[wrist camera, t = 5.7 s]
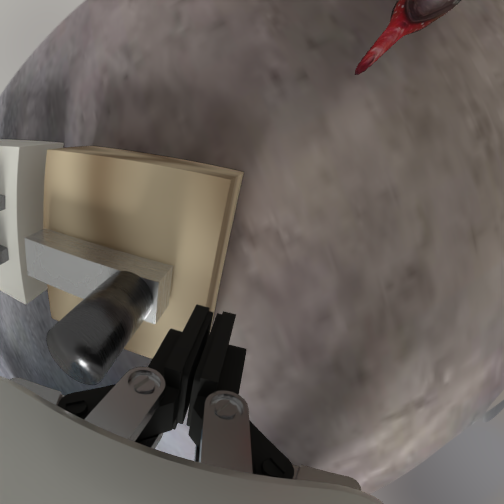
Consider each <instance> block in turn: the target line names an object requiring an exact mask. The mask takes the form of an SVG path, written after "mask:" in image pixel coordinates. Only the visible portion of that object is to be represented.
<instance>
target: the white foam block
mask: <svg viewBox="0 0 504 504" xmlns="http://www.w3.org/2000/svg"><path fill="white" fill-rule="evenodd" d="M63 146H64V143H59V142H47V141H32V140H13V139H0V194H1V195H5V210H2V211H0V245H2V246H5V247H7V248H8V255H9V260H8V261H6V262H5V263H3V264H1V265H0V291H2V292H4V293H6V294H7V295H9V296H11V297H13V298H14V299H16V300H18V301H20V302H22V303H23V304H25V305H27V304H28V303H29V302H31V301H32V300H33V299H35V298H36V297H37V296H39V295H40V294H41V293H43V292H44V291H45V290H47V289H48V288H47V284H46V283H44V282H42V281H40V280H37V279H35V278H33V277H31V276H29V275H28V272H27V263H26V253H25V237H27V236H30V235H32V234H34V233H36V232H38V231H40V230H43V202H44V179H45V165H46V155H47V150H48V149H57V148H63Z"/></svg>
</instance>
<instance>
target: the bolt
mask: <svg viewBox="0 0 504 504" xmlns="http://www.w3.org/2000/svg"><path fill="white" fill-rule="evenodd" d="M25 253H26V263H27V272H28V275H29V276H31V277H33V278H35V279H37V280H40V281H42V282H44V283H46V284H49V285H51V286H53V287H56V288H58V289H60V290H63V291H65V292H67V293H70V294H72V295H75V296H77V297H80V298H82V299H83V300H82V301H81V302H80V303H79V304H78V305H77V306H75V307H74V308H73V309H72V310H71V311H70V312H69V313H68V314H67V315H66V316H64V317H63V318H62V319H61V320H60V321H59V322H58V323H57V324H56V325H55V326H54V327H53V328H51V329H50V330H49V332H48V334H47V345H48V348H49V351H50V353H51V355H52V357H53V359H54V360H55V361H56V363H57V364H58V365H59V366H60V368H61V369H62V370H63V371H64V372H66V373H67V374H68V375H69V376H71V377H72V378H74V379H75V380H77V381H79V382H81V383H84V384H88V385H95V384H98V383H99V382H101V380H102V379H103V377H104V376H105V374H106V373H107V371H108V370H109V369H110V367H111V366H112V364H113V363H114V361H115V360H116V359H117V357H118V356H119V354H120V353H121V352H122V350H123V349H124V347H125V346H126V345H127V343H128V342H129V340H130V339H131V338H132V336H133V335H134V333H135V332H136V331H137V329H138V328H139V327H140V325H141V324H142V322H143V321H146V322H149V323H152V324H156V323H157V322H158V320H159V319H160V317H161V316H162V314H163V313H164V311H165V310H166V308H167V307H168V305H169V298H170V289H171V280H172V272H173V265H169V264H165V263H162V262H158V261H154V260H151V259H147V258H144V257H140V256H137V255H133V254H130V253H126V252H123V251H119V250H116V249H112V248H109V247H105V246H102V245H99V244H95V243H92V242H88V241H85V240H82V239H79V238H75V237H72V236H69V235H66V234H62V233H59V232H56V231H53V230H50V229H46V228H45V229H43V230H40V231H38V232H36V233H34V234H32V235H30V236H27V237H25Z"/></svg>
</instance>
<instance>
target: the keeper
mask: <svg viewBox="0 0 504 504" xmlns="http://www.w3.org/2000/svg"><path fill="white" fill-rule="evenodd" d="M2 210H5V195H1V194H0V211H2ZM8 260H9V255H8V248H7V247H5V246H2V245H0V265H1V264H3V263H5V262H6V261H8Z"/></svg>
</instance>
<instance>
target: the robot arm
mask: <svg viewBox="0 0 504 504" xmlns="http://www.w3.org/2000/svg"><path fill="white" fill-rule="evenodd" d="M209 309H210V308H209V307H205V306H202V305H198V304H197V305H196V306H195V308H194V310H193V312H192V314H191V316H190V318H189V320H188V322H187V324H186V326H185V328H184V330H183V332H181V331H178V330H175V329H172V328H171V329H170V330H169V331H168V333H167V335H166V336H165V338H164V340H163V342H162V343H161V345H160V347H159V349H158V350H157V352H156V354H155V356H154V357H153V359H152V361H151V363H150V364H149V366H148V367H136V368H133V369H131V370H129V371H128V372H127V373H126V374H125V375H124V376H123V377H122V378H121V379H120V380H119V381H118V383H117V384H115V385H110V386H106V387H101V388H96V389H91V390H86V391H81V392H75V393H71V394H67V395H62V393H61V391H57V390H54V389H51V388H48V387H45V386H42V385H39V384H36V383H33V382H30V381H28V380H25V379H22V378H12V379H10V380H9V379H7V378H4V377H1V376H0V504H383V503H382V502H381V501H380V500H379V499H377V498H376V497H374V496H372V495H370V494H368V493H365V492H362V491H361V487H360V485H359V483H358V482H357V481H356V480H355V479H353V478H351V477H348V476H344V475H339V474H335V473H331V472H327V471H323V470H319V469H315V468H311V467H308V466H304V465H300V467H299V466H296V465H292V463H291V462H290V461H289V459H288V458H287V457H285V456H284V455H283V454H282V453H281V452H280V451H279V450H278V449H277V448H276V447H275V446H274V445H273V444H272V443H271V442H270V441H269V440H268V439H267V438H266V437H265V436H264V435H263V434H262V433H261V432H260V431H259V430H258V429H257V428H256V427H255V426H254V425H253V423H252V422H251V421H250V420H249V409H248V405H247V403H246V401H245V400H244V399H243V398H242V397H241V396H240V395H238V394H239V389H240V383H241V378H242V372H243V366H244V361H245V355H246V349H244V348H240V347H236V346H232V345H228V344H229V340H230V337H231V333H232V329H233V325H234V321H235V317H236V315H235V314H232V313H228V312H224V311H223V314H218V313H217V316H216V318H215V321H214V324H213V326H212V329H211V324H212V319H213V313H214V312H211V311H209ZM210 329H211V332H210ZM189 404H190V405H189ZM188 407H189V412H188V418H187V426H190V429H189V436H190V437H191V439H192V440H193V441H194V443H195V444H196V447H195V458H194V461H192V460H188V459H184V458H181V457H178V456H174V455H171V454H168V453H165V452H162V451H159V450H156V449H155V448H156V446H157V444H158V443H159V441H160V440H161V438H162V435H163V433H164V432H167V431H170V430H172V429H176V426H177V423H180V424H183V421H184V419H185V416H186V413H187V410H188Z"/></svg>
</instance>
